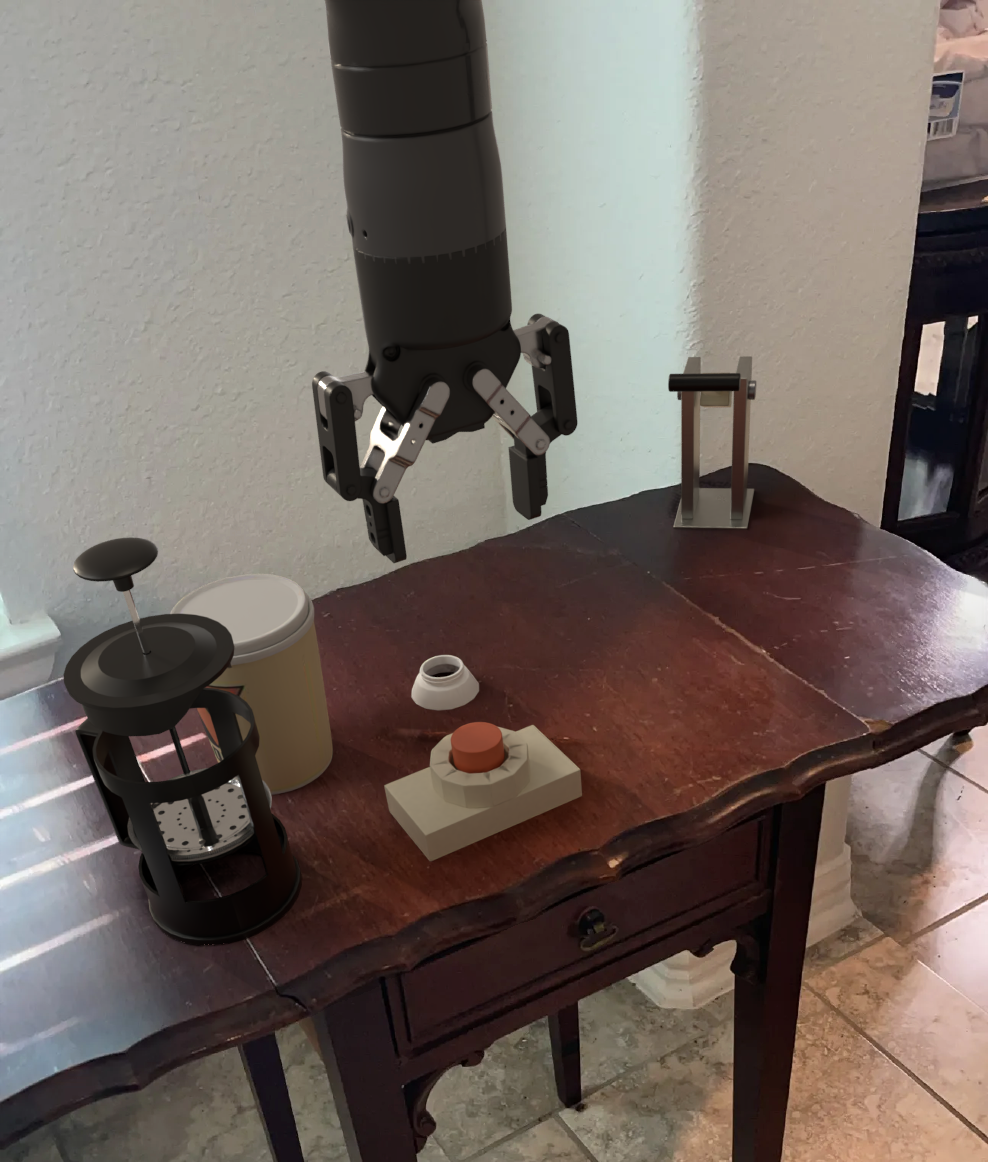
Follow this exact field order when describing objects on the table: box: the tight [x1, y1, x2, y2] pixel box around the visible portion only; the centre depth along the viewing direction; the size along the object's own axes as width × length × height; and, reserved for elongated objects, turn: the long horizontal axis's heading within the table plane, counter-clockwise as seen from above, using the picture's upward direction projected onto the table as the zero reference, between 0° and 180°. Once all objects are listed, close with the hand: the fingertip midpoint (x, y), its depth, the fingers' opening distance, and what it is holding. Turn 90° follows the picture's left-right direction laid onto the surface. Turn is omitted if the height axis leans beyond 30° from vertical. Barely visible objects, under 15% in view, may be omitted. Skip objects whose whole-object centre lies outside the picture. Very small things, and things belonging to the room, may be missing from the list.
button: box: [451, 721, 505, 774], centre depth 78 cm, size 3×3×2 cm
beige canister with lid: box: [169, 573, 334, 796], centre depth 83 cm, size 9×9×12 cm
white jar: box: [410, 654, 480, 711], centre depth 90 cm, size 5×3×5 cm
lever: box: [667, 372, 741, 409], centre depth 95 cm, size 12×5×2 cm, turn 166°
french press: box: [63, 536, 303, 946], centre depth 70 cm, size 12×9×23 cm
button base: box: [383, 724, 583, 862], centre depth 80 cm, size 11×6×4 cm, turn 119°
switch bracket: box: [672, 355, 757, 531], centre depth 102 cm, size 7×6×13 cm
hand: (462, 534), depth 72 cm, fingers open, 8 cm apart
